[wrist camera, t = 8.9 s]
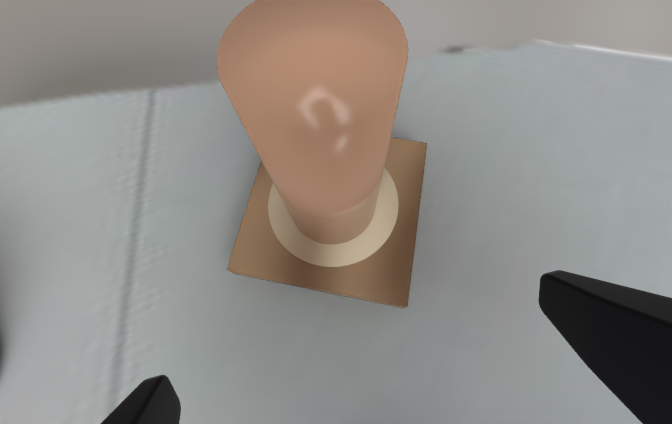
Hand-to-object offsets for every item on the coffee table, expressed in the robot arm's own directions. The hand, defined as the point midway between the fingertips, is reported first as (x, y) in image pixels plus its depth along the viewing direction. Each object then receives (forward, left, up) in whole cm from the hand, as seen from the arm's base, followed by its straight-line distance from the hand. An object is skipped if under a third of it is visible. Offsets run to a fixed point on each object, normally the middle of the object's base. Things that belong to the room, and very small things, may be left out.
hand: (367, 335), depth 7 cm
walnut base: (+3, -7, -13) cm, 15 cm away
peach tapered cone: (+3, -7, -11) cm, 14 cm away
